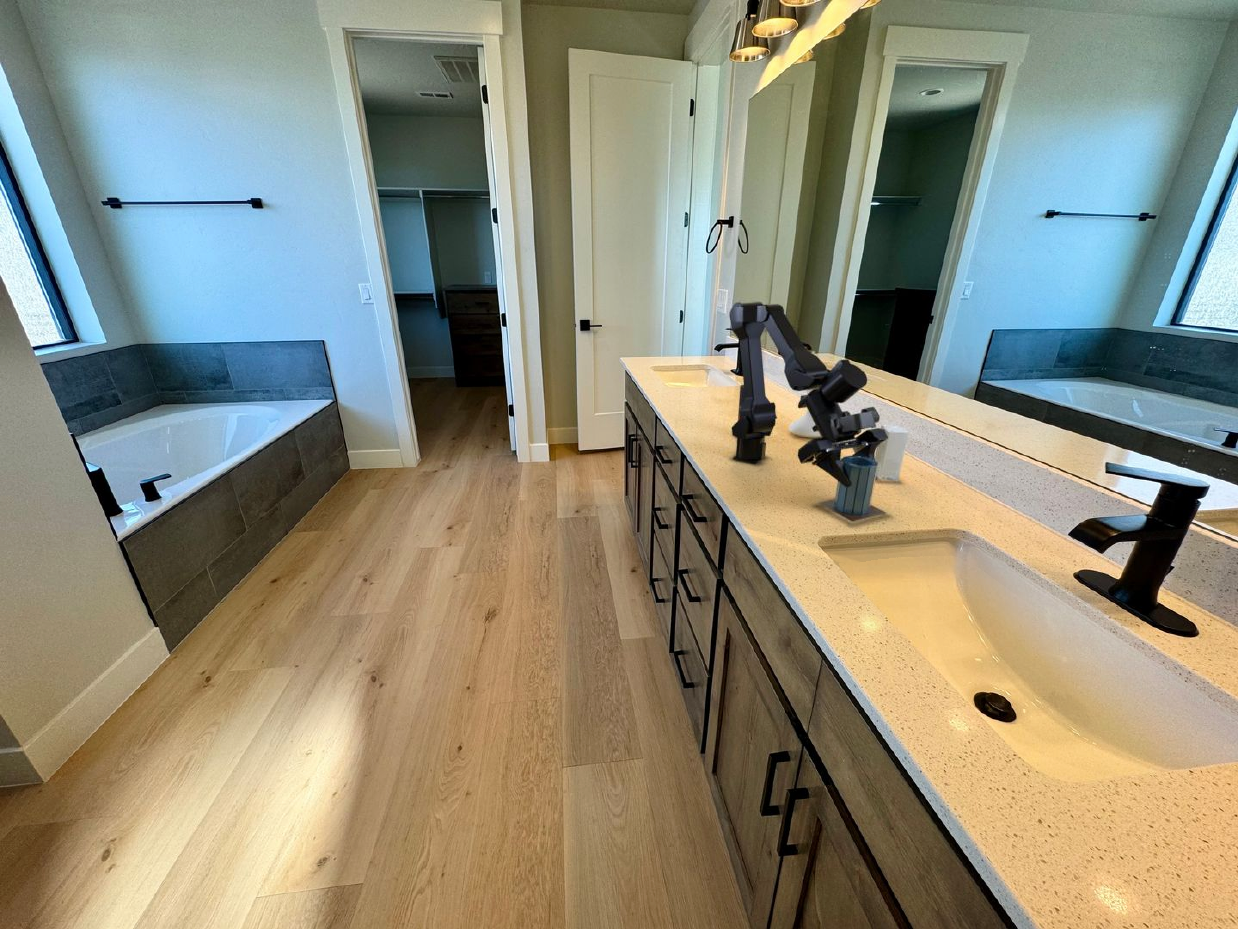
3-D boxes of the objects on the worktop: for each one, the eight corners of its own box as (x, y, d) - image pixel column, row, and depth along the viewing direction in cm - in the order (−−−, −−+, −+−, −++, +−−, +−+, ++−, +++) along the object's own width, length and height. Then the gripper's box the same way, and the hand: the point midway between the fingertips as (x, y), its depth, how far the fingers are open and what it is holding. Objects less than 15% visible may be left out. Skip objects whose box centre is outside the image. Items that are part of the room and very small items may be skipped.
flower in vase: (799, 427, 154) (809, 345, 145) (835, 434, 146) (848, 349, 137) (777, 436, 145) (786, 350, 136) (814, 444, 138) (826, 354, 129)
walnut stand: (817, 506, 102) (820, 480, 99) (849, 498, 105) (854, 473, 103) (851, 525, 94) (856, 497, 92) (886, 516, 97) (891, 489, 95)
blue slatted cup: (830, 509, 98) (837, 462, 95) (839, 498, 103) (846, 453, 100) (865, 517, 95) (874, 469, 91) (872, 506, 100) (881, 459, 96)
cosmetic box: (898, 483, 112) (909, 433, 108) (878, 481, 113) (888, 432, 108) (890, 473, 118) (900, 425, 113) (871, 472, 118) (880, 424, 114)
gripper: (815, 398, 91) (853, 474, 85) (889, 389, 98) (928, 458, 92) (782, 428, 101) (814, 498, 95) (851, 417, 107) (885, 482, 102)
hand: (861, 483), depth 96 cm, fingers closed on blue slatted cup, 6 cm apart
